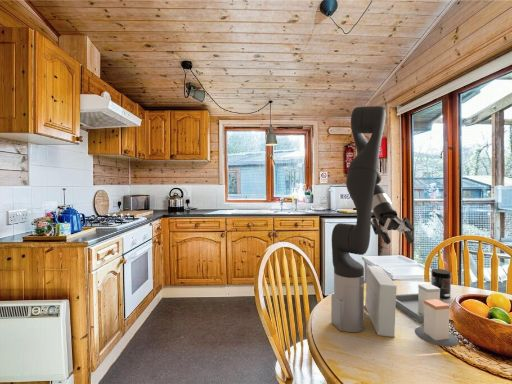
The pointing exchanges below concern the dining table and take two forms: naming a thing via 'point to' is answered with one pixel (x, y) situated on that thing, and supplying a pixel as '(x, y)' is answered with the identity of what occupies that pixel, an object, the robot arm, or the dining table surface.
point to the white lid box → (426, 295)
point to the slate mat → (444, 342)
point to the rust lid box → (436, 319)
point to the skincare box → (381, 300)
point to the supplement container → (442, 282)
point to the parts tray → (410, 306)
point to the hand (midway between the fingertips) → (400, 242)
